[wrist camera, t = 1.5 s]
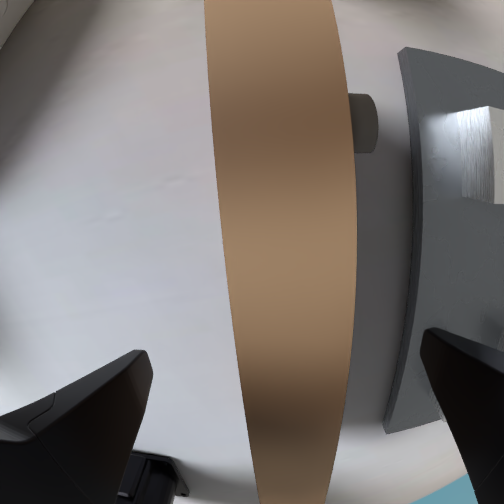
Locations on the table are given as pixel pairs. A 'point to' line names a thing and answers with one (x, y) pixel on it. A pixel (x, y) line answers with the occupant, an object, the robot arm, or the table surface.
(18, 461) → the robot arm
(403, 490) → the table surface
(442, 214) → the plate
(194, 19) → the table surface
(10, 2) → the white curved block
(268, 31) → the cabinet door
